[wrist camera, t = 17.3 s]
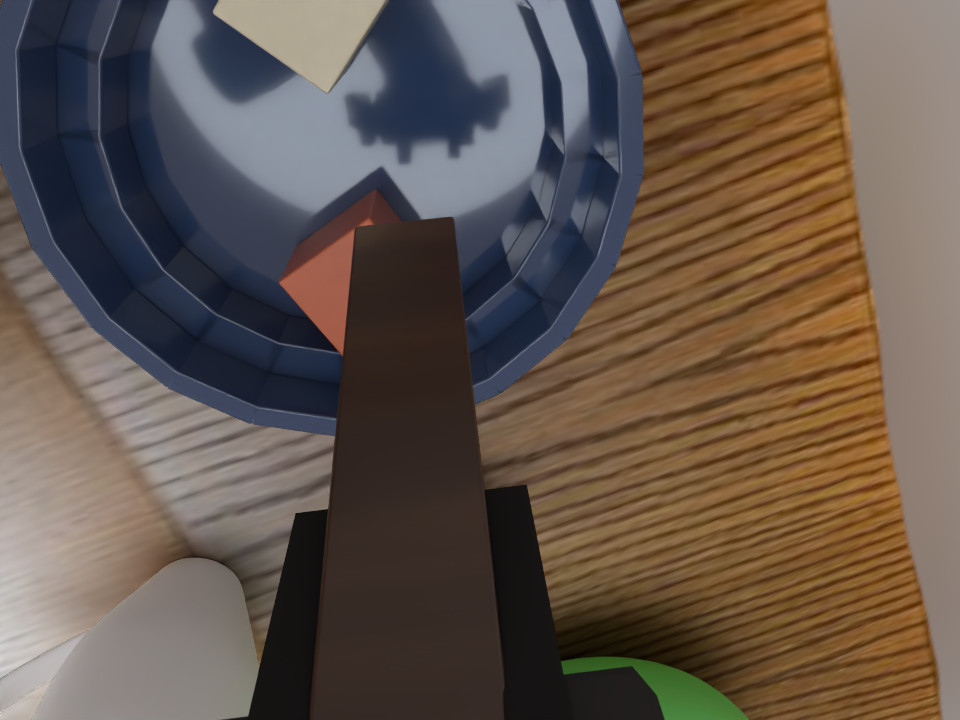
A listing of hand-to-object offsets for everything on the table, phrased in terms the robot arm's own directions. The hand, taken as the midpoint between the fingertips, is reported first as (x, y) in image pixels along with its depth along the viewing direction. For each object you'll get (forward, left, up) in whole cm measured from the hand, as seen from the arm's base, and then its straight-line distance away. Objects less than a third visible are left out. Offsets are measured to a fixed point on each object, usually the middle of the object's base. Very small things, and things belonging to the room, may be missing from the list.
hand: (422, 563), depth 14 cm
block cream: (-9, -2, -19) cm, 21 cm away
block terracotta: (+1, -2, -19) cm, 19 cm away
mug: (+17, -15, -20) cm, 31 cm away
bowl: (-4, -2, -20) cm, 21 cm away
